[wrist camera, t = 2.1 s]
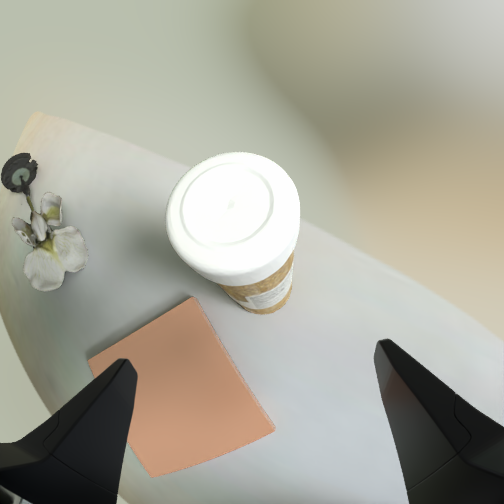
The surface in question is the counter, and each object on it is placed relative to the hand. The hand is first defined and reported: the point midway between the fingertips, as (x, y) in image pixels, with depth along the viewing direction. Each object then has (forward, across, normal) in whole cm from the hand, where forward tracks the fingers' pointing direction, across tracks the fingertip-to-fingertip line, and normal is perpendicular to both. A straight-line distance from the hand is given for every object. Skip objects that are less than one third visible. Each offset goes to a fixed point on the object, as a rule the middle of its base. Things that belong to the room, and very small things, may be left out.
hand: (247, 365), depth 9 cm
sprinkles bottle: (+12, 0, +5) cm, 13 cm away
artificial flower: (+20, +26, -2) cm, 32 cm away
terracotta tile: (+6, +8, +11) cm, 14 cm away
